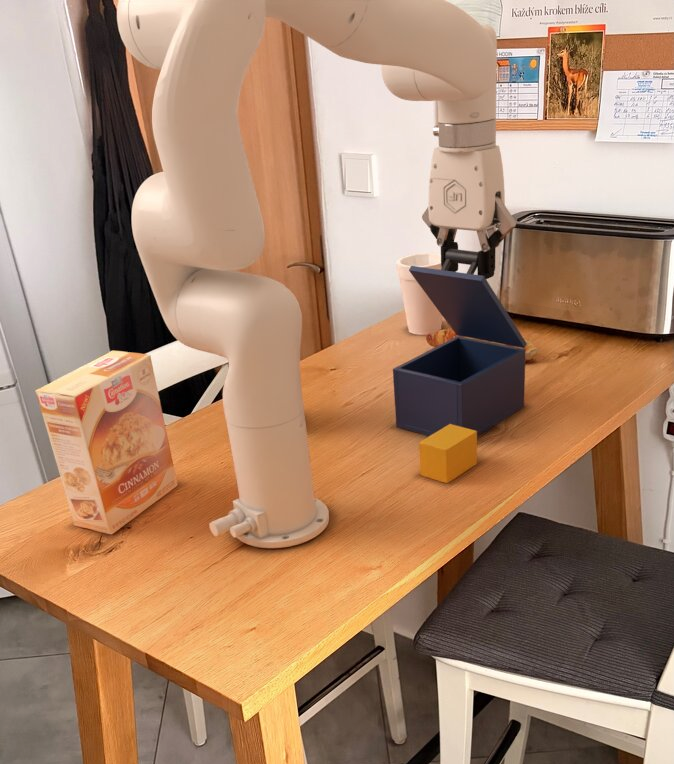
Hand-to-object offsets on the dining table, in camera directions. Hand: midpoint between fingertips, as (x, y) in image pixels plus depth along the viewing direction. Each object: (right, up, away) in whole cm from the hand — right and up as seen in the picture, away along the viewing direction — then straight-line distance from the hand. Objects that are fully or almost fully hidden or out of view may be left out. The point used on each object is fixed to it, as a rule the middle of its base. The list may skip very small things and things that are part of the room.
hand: (467, 274), depth 130 cm
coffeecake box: (-48, -34, -3) cm, 59 cm away
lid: (0, -4, +3) cm, 5 cm away
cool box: (0, -18, +11) cm, 21 cm away
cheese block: (-3, -28, -4) cm, 29 cm away
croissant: (+7, -4, +31) cm, 32 cm away
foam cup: (-2, +6, +46) cm, 46 cm away
